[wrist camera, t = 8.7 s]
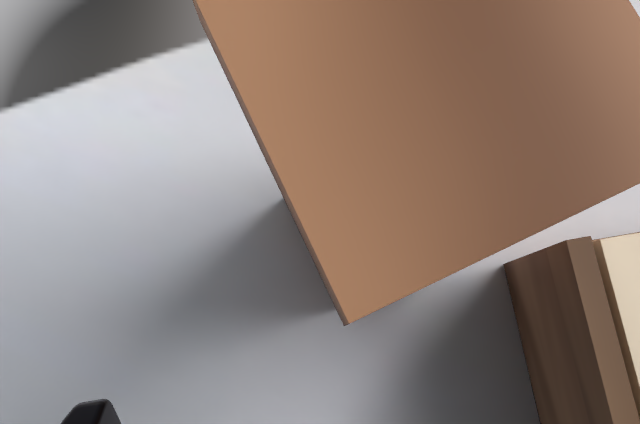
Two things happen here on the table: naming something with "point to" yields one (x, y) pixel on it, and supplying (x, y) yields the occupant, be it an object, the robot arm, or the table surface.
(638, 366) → the lid
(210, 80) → the table surface
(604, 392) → the brown boxy piece
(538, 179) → the wooden key
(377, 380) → the table surface
